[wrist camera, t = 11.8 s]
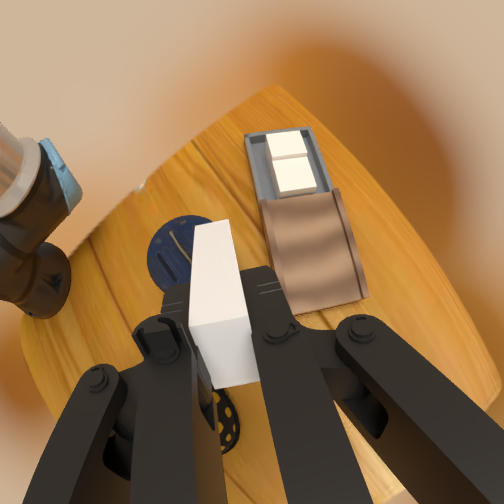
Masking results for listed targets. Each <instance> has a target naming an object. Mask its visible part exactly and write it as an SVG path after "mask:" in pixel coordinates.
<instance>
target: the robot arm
mask: <svg viewBox="0 0 504 504" xmlns="http://www.w3.org/2000/svg"><path fill="white" fill-rule="evenodd" d="M81 198H82V189H81V187H80V185H79V184H78V183H77V181H76V179H75V178H74V177H73V175H72V174H71V172H70V171H69V169H68V168H67V166H66V164H65V163H64V161H63V160H62V158H61V157H60V155H59V153H58V152H57V150H56V149H55V148H54V145H53V144H52V143H51V141H50V139H48V138H45V139H43V140H41V141H40V142H39V143H37V142H36V141H35V140H33V139H32V138H29V137H23V138H19V139H16V138H15V137H14V136H13V135H12V134H11V133H10V132H9V131H8V130H7V129H6V127H4V126H3V125H2V123H1V122H0V300H3V301H7V302H11V303H13V304H15V305H16V306H17V307H18V308H20V309H21V310H22V311H24V312H25V313H26V314H27V315H29V316H31V317H35V318H40V319H47V318H50V317H52V316H53V315H55V314H56V313H57V312H58V311H59V310H60V309H61V308H62V306H63V304H64V303H65V301H66V298H67V296H68V293H69V289H70V283H71V270H70V265H69V261H68V259H67V257H66V255H65V253H64V252H63V251H62V250H61V249H60V248H58V247H57V246H55V245H53V244H51V243H48V242H44V241H45V240H46V239H47V237H48V236H49V235H50V234H51V233H52V232H53V231H54V229H56V227H57V226H59V224H60V223H61V222H62V221H63V220H64V219H65V218H66V217H67V216H69V215H70V213H71V211H72V210H73V208H74V207H75V206H76V205H77V204H78V203H79V202H80V200H81ZM132 337H133V339H134V341H135V343H136V344H137V346H138V348H139V350H140V351H141V353H142V355H143V357H144V361H143V362H142V363H140V364H138V365H136V366H134V367H132V368H129V369H126V370H124V371H121V372H118V371H117V370H116V368H115V367H114V366H112V365H109V364H99V365H96V366H93V367H91V368H90V369H89V370H87V371H86V372H85V373H84V374H83V376H82V377H81V378H80V380H79V382H78V384H77V385H76V387H75V389H74V391H73V393H72V395H71V397H70V398H69V400H68V402H67V404H66V406H65V408H64V410H63V412H62V414H61V416H60V418H59V420H58V422H57V424H56V426H55V428H54V430H53V432H52V434H51V436H50V438H49V441H48V443H47V445H46V447H45V449H44V452H43V454H42V456H41V458H40V461H39V463H38V465H37V468H36V470H35V472H34V475H33V477H32V480H31V482H30V485H29V487H28V490H27V492H26V495H25V498H24V500H23V504H228V500H227V493H226V486H225V478H224V470H223V462H222V453H221V444H220V435H219V425H218V415H217V404H216V401H215V398H214V396H213V394H212V385H211V382H212V384H213V386H214V389H220V388H226V387H231V386H237V385H242V384H247V383H253V382H257V381H260V382H261V387H262V391H263V396H264V401H265V405H266V410H267V414H268V419H269V423H270V428H271V432H272V437H273V441H274V446H275V450H276V454H277V459H278V463H279V467H280V472H281V476H282V480H283V484H284V489H285V493H286V497H287V501H288V504H373V501H372V498H371V496H370V493H369V490H368V488H367V485H366V482H365V480H364V477H363V475H362V472H361V469H360V467H359V464H358V462H357V459H356V457H355V454H354V451H353V449H352V446H351V444H350V441H349V439H348V436H347V434H346V431H345V429H344V426H343V424H342V421H341V419H340V416H339V414H338V411H337V409H336V406H335V404H334V401H335V402H336V403H337V404H338V406H339V407H340V408H341V410H342V411H343V412H344V413H345V415H346V416H347V417H348V418H349V420H350V421H351V422H352V423H353V425H354V426H355V427H356V428H357V430H358V431H359V432H360V433H361V435H362V436H363V437H364V438H365V440H366V441H367V442H368V443H369V445H370V446H371V447H372V448H373V449H374V451H375V452H376V453H377V454H378V456H379V457H380V458H381V459H382V460H383V462H384V463H385V464H386V465H387V467H388V468H389V469H390V470H391V471H392V473H393V474H394V475H395V476H396V477H397V479H398V480H399V481H400V482H401V483H402V485H403V486H404V487H405V488H406V489H407V490H408V492H409V493H410V494H411V495H412V496H413V497H414V499H415V500H416V501H417V502H418V503H419V504H504V430H503V429H502V428H501V427H500V426H499V425H498V424H497V423H496V422H495V421H494V420H493V419H491V418H490V417H489V416H488V415H487V414H486V413H485V412H484V411H483V410H482V409H481V408H480V407H479V406H478V405H477V404H475V403H474V402H473V401H472V400H471V399H470V398H469V397H468V396H467V395H466V394H465V393H463V392H462V391H461V390H460V389H459V388H458V387H457V386H456V385H455V384H454V383H452V382H451V381H450V380H449V379H448V378H447V377H446V376H445V375H443V374H442V373H441V372H440V371H439V370H438V369H437V368H436V367H434V366H433V365H432V364H431V363H430V362H429V361H428V360H427V359H425V358H424V357H423V356H422V355H421V354H420V353H419V352H417V351H416V350H415V349H414V348H413V347H412V346H410V345H409V344H408V343H407V342H406V341H405V340H404V339H402V338H401V337H400V336H399V335H398V334H397V333H395V332H394V331H393V330H392V329H391V328H389V327H388V326H387V325H386V324H385V323H384V322H382V321H381V320H379V319H378V318H376V317H374V316H370V315H366V314H359V315H353V316H350V317H346V318H345V319H344V320H342V321H341V322H340V323H339V325H338V327H337V328H336V330H314V329H310V328H307V327H305V326H303V325H301V324H300V323H299V322H298V321H297V320H296V319H295V318H294V316H293V314H292V311H291V309H290V306H289V304H288V301H287V299H286V297H285V294H284V292H283V289H282V287H281V284H280V282H279V280H278V277H277V275H276V272H275V271H274V270H272V269H271V268H270V267H268V266H267V265H265V266H261V267H256V268H251V269H246V270H242V271H239V269H238V264H237V259H236V254H235V249H234V244H233V240H232V235H231V230H230V225H229V220H228V219H226V220H221V221H216V222H212V223H207V224H202V225H197V226H195V233H194V244H193V257H192V271H191V282H188V283H183V284H178V285H172V286H170V287H169V289H168V290H167V291H166V293H165V294H164V297H163V302H162V308H161V314H158V315H155V316H152V317H149V318H147V319H146V320H144V321H142V322H141V323H140V324H139V325H138V326H137V327H136V328H135V329H134V331H133V333H132ZM333 400H334V401H333Z"/></svg>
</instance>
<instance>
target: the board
mask: <svg viewBox="0 0 504 504" xmlns="http://www.w3.org/2000/svg"><path fill="white" fill-rule="evenodd" d="M260 216H261V221H262V226H263V230H264V235H265V240H266V245H267V249H268V254H269V259H270V264H271V269H272V270H274V271H275V272H276V275H277V277H278V280H279V282H280V284H281V287H282V289H283V292H284V294H285V297H286V299H287V301H288V304H289V306H290V309H291V311H292V314H293V316H296V315H301V314H306V313H310V312H315V311H319V310H324V309H328V308H332V307H336V306H341V305H345V304H349V303H353V302H357V301H360V300H362V299H365V298H367V297H369V296H370V295H369V291H368V287H367V283H366V279H365V275H364V271H363V267H362V264H361V260H360V256H359V253H358V249H357V246H356V242H355V239H354V235H353V232H352V229H351V226H350V222H349V219H348V216H347V213H346V210H345V207H344V204H343V201H342V198H341V195H340V192H339V189H338V188H335V189H332V191H331V192H325V193H318V194H311V195H305V196H298V197H291V198H285V199H279V200H272V201H267V199H261V200H260Z"/></svg>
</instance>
